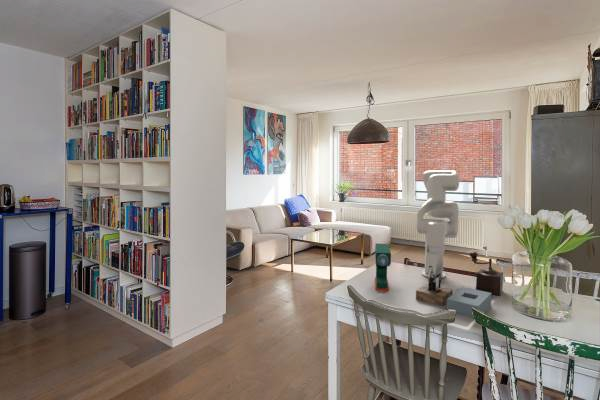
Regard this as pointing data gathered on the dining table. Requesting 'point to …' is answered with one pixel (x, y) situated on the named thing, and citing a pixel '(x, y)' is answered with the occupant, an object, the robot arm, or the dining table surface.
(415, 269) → the dining table surface
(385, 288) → the power tool
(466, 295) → the slotted box
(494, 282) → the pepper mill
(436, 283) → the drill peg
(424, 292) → the socket block
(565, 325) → the dining table surface
